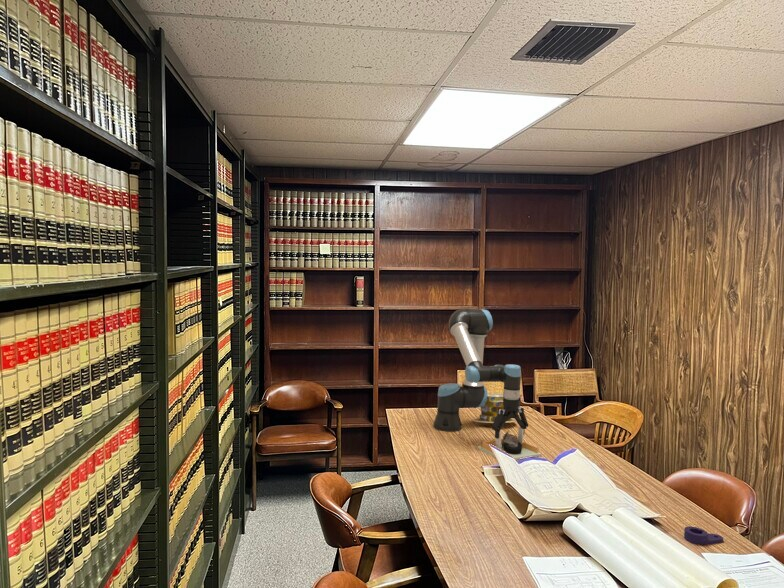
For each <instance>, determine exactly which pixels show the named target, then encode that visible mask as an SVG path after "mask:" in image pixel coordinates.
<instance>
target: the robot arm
mask: <svg viewBox="0 0 784 588" xmlns="http://www.w3.org/2000/svg"><path fill="white" fill-rule="evenodd" d="M448 320H449V321H448V328H449V329H448V330H449V331H450V334H451V335H452V336H454V339H455V341H456V344H457V346H458V349H459V351H460V353H461V356H462V359H463V361H464V363H465V365H466V367H465V370H464V378H465V379H464V380H463V381H462V386H461V385H460V383H456V382H454V383H453V382H451V383H450V382H449V383H444V384H441V385H440V386H439V387H438V389H437V390H438V391H437V411H436V415H435V419H434V421H433V428H434V429H436V430H438V431H442V432H443V431H444V432H458V431H461V430H462V429H463V427H462V426H463V424H462V421H461V417H460V409H477V408H481V407H483V406H484V405H485V403H486V401H487V394H488V390H487V387H486V386H485V383H484V382H486V383H487V382H488V383H492V382H494V383H495V382H496V383H497V382H499V383H503V393H502V395H503V397H504V398H503V406H504V409H503V410H501V409H498V413H497V416H496V419H495V421H494V423H492V426H491V430H493V431H494V438H495V440H496V445H498V446H501V439H502V431H501V430H502V428H503V427H504V426H505V424H506V423H505V422H506V421H507V420H508V419H514V420H516V423H517V424H518V426H519V427H518V432H517V435H518V436H517V438H518V441H519V442H521V443H523V442H524V436H525V430H526V429H527V428H528V427H529V423H528V420H527V417H526V415H525V409H524V408H523V407H521V406H520V404H521V402H520V397H521V379H522V369H521V368H522V367H521V366H520V365H518V364H513V363H512V364H505V365H503V364H495V365H483V364H484V349H485V348H484V347H485V338H486V337H487V336H488V335H489V334H488V333H489V332H490V331H491V330H493V329H492V328H493V325H494V323H493V322H494V321H493V316H492V314H491V312H490V311H489V310H488V309H482V308H459V309H457V310H455V311H454V312H453V313H451V315H450V317H449V319H448Z"/></svg>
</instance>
